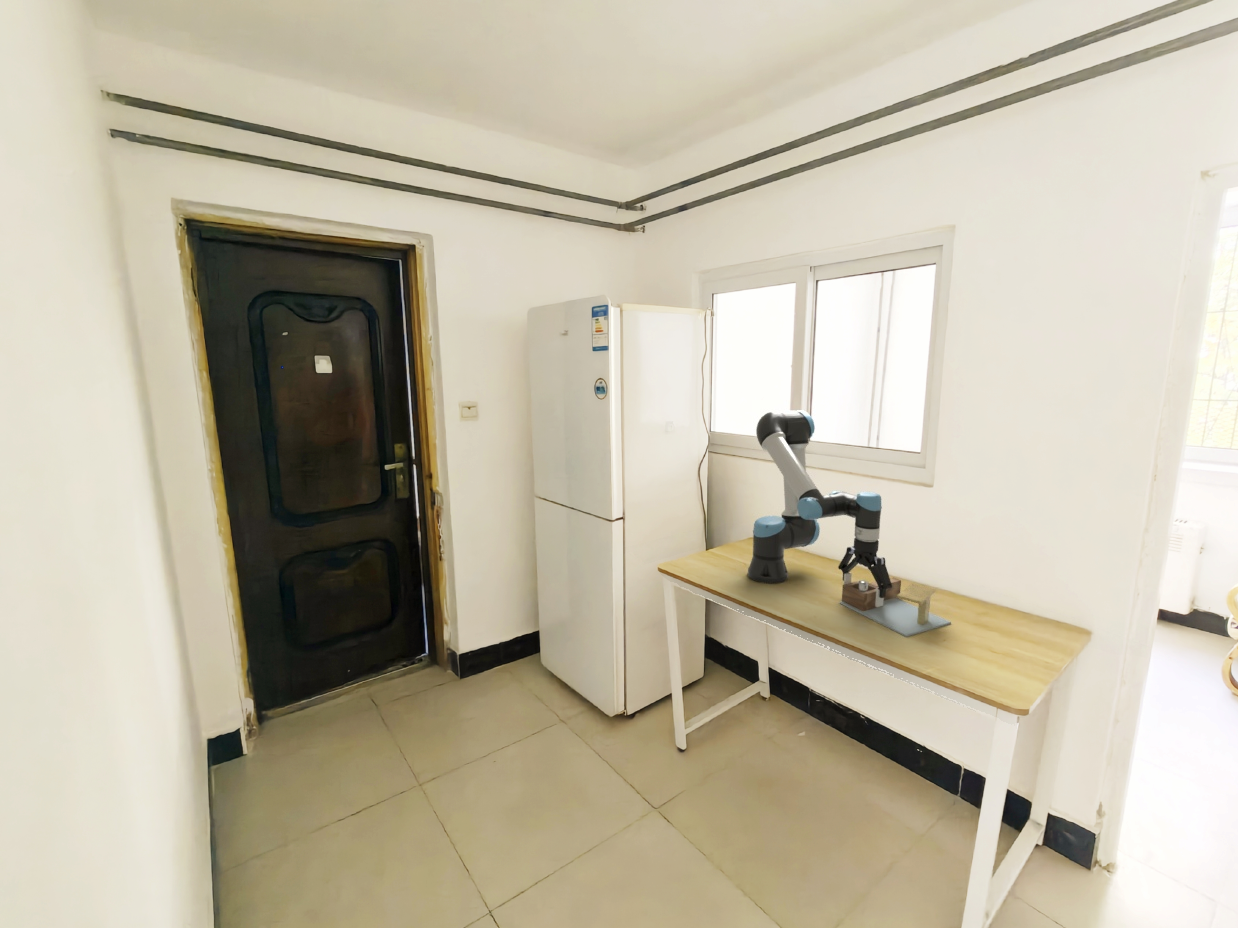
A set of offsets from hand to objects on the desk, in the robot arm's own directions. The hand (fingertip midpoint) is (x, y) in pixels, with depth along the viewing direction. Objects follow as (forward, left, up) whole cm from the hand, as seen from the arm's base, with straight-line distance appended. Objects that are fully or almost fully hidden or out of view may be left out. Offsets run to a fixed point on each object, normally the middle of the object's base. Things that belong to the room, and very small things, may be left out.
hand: (862, 598), depth 181 cm
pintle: (0, 0, -3) cm, 3 cm away
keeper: (+16, +6, -3) cm, 17 cm away
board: (+8, +4, -3) cm, 10 cm away
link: (0, +6, -2) cm, 6 cm away
